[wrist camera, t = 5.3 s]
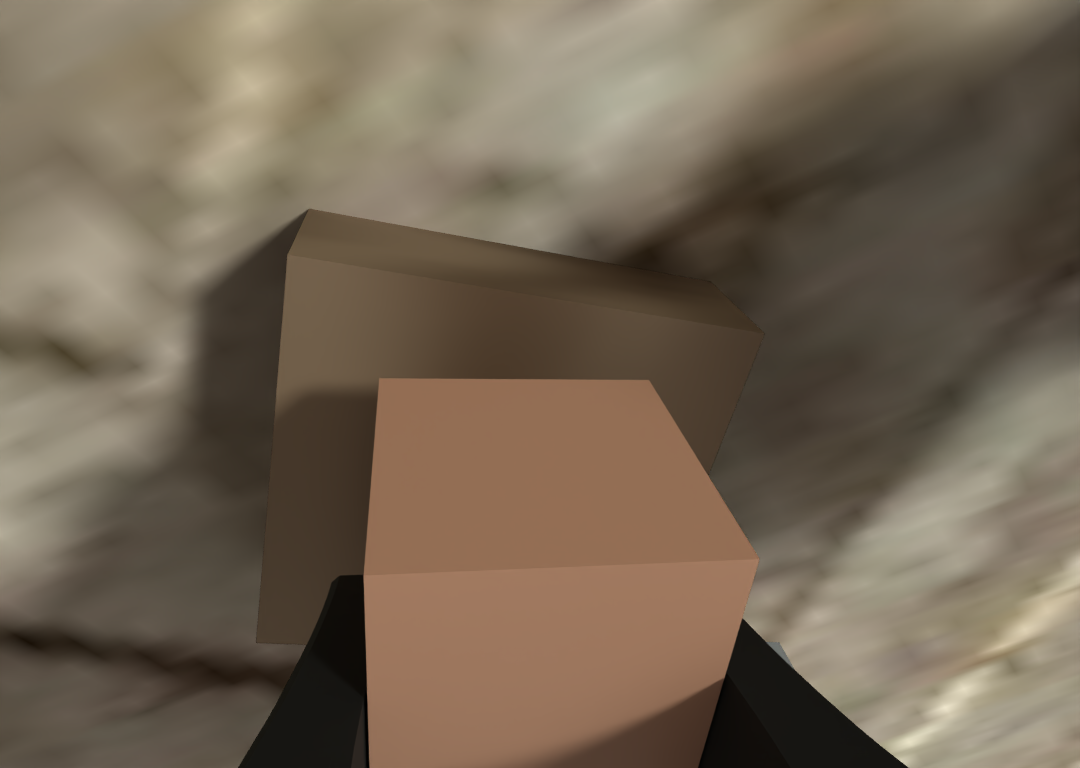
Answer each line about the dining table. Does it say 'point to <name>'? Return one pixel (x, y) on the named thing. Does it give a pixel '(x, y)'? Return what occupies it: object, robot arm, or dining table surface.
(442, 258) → the walnut block
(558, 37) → the dining table surface
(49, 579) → the dining table surface
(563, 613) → the terracotta block
